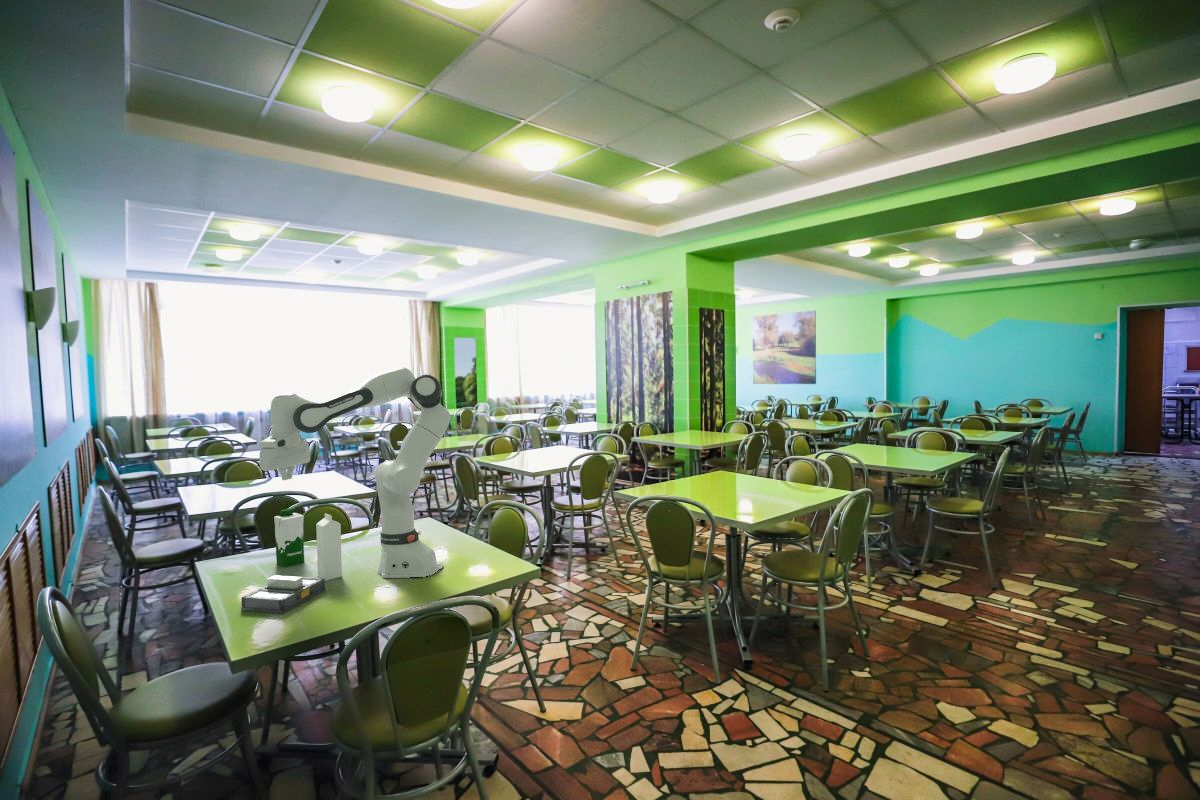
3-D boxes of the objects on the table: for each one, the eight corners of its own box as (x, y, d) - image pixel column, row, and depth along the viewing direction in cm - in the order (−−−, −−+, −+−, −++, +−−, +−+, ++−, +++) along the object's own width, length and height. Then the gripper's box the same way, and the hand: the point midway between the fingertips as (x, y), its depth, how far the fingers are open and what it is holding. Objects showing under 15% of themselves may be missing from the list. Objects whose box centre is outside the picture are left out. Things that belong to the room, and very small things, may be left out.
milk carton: (297, 557, 219) (295, 506, 219) (308, 562, 214) (306, 509, 213) (272, 563, 212) (271, 511, 212) (284, 568, 207) (282, 514, 206)
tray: (326, 590, 185) (326, 578, 185) (282, 614, 166) (282, 600, 166) (287, 587, 188) (287, 575, 188) (240, 610, 169) (239, 597, 169)
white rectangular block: (302, 595, 177) (302, 577, 177) (296, 599, 174) (295, 580, 174) (275, 594, 179) (274, 575, 179) (267, 597, 176) (267, 578, 176)
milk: (335, 572, 202) (333, 511, 201) (342, 576, 197) (340, 514, 197) (317, 577, 197) (315, 514, 197) (324, 581, 193) (322, 517, 192)
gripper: (299, 437, 208) (300, 474, 209) (255, 443, 188) (256, 484, 189) (314, 437, 207) (315, 474, 208) (271, 443, 187) (272, 484, 188)
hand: (287, 479), depth 198 cm, fingers closed
